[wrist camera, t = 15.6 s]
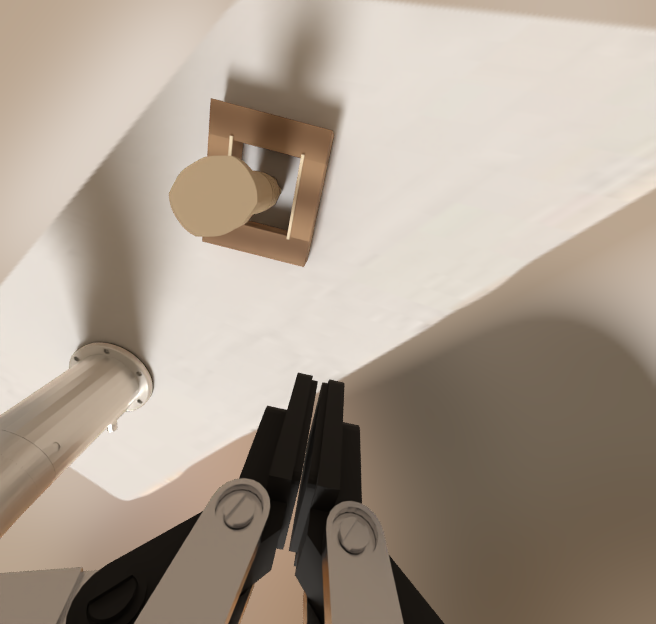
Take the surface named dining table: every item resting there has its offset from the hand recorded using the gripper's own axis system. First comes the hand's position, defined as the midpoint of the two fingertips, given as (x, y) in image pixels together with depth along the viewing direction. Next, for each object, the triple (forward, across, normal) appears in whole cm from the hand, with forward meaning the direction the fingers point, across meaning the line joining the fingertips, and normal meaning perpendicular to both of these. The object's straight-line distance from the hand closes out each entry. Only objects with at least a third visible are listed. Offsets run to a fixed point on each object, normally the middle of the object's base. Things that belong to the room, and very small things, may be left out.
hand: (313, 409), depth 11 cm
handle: (+29, +10, -4) cm, 30 cm away
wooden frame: (+28, +10, -4) cm, 30 cm away
